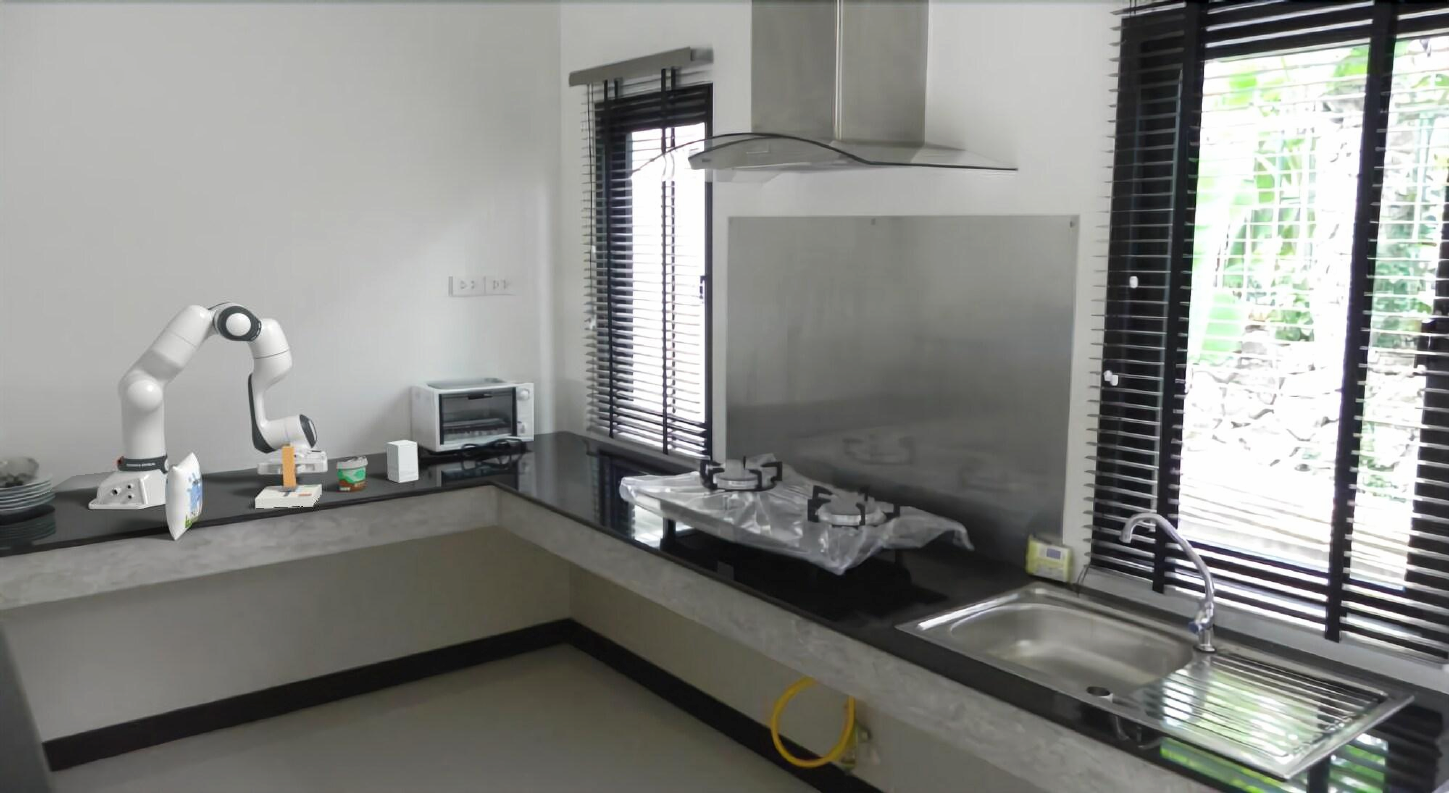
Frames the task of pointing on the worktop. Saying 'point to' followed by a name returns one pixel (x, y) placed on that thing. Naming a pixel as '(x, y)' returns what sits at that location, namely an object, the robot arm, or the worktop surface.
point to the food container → (352, 474)
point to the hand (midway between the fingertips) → (288, 471)
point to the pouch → (183, 495)
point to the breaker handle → (288, 469)
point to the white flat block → (288, 496)
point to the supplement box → (402, 461)
